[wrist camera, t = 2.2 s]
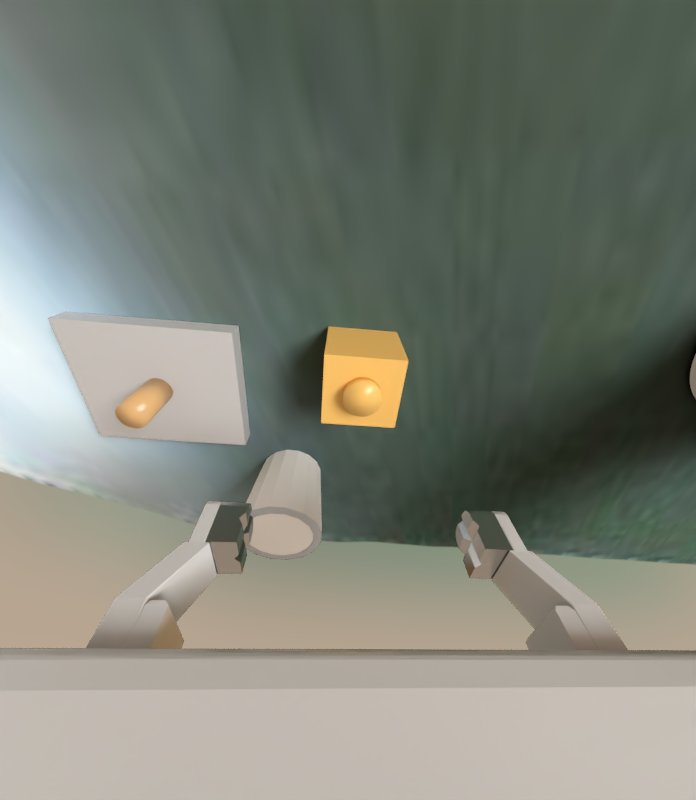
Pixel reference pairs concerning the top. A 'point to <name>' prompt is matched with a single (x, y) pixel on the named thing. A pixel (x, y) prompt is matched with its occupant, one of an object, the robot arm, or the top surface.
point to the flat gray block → (157, 376)
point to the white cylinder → (286, 506)
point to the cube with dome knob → (362, 377)
